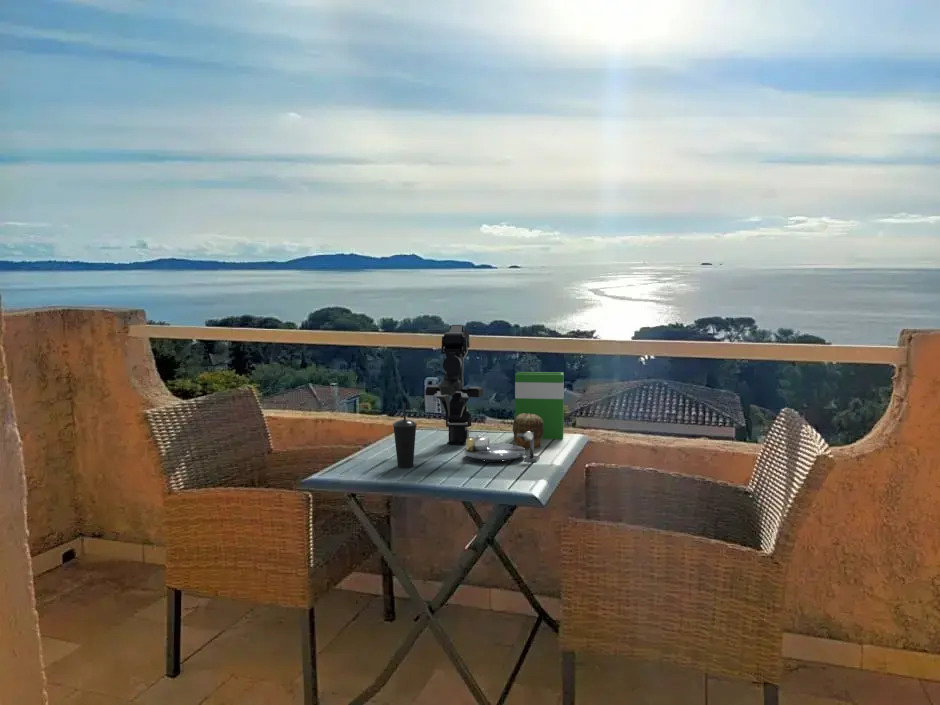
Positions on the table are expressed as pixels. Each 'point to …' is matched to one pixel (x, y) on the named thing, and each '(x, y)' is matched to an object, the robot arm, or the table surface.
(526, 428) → the shell
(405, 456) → the drinking cup
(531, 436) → the dial stand
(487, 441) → the cover
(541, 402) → the hardback book
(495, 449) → the platter
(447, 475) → the table surface
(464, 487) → the table surface
